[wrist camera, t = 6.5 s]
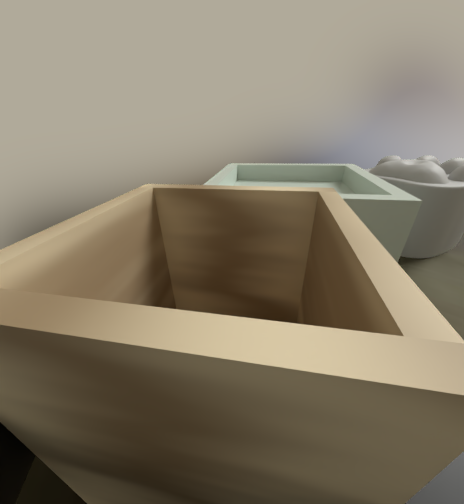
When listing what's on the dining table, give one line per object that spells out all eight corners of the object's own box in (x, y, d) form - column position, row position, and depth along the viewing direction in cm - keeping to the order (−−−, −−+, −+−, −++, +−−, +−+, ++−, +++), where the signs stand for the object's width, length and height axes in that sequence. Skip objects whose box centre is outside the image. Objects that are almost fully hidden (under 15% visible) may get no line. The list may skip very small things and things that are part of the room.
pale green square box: (335, 239, 27) (352, 163, 22) (374, 319, 16) (422, 200, 12) (230, 233, 29) (228, 163, 24) (200, 300, 18) (188, 194, 14)
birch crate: (299, 357, 13) (332, 186, 8) (318, 580, 7) (517, 403, 2) (177, 339, 15) (145, 182, 10) (95, 514, 8) (-132, 304, 3)
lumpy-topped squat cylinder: (331, 228, 30) (347, 158, 25) (389, 211, 35) (409, 150, 31) (420, 266, 22) (465, 172, 17) (477, 235, 27) (521, 158, 23)
